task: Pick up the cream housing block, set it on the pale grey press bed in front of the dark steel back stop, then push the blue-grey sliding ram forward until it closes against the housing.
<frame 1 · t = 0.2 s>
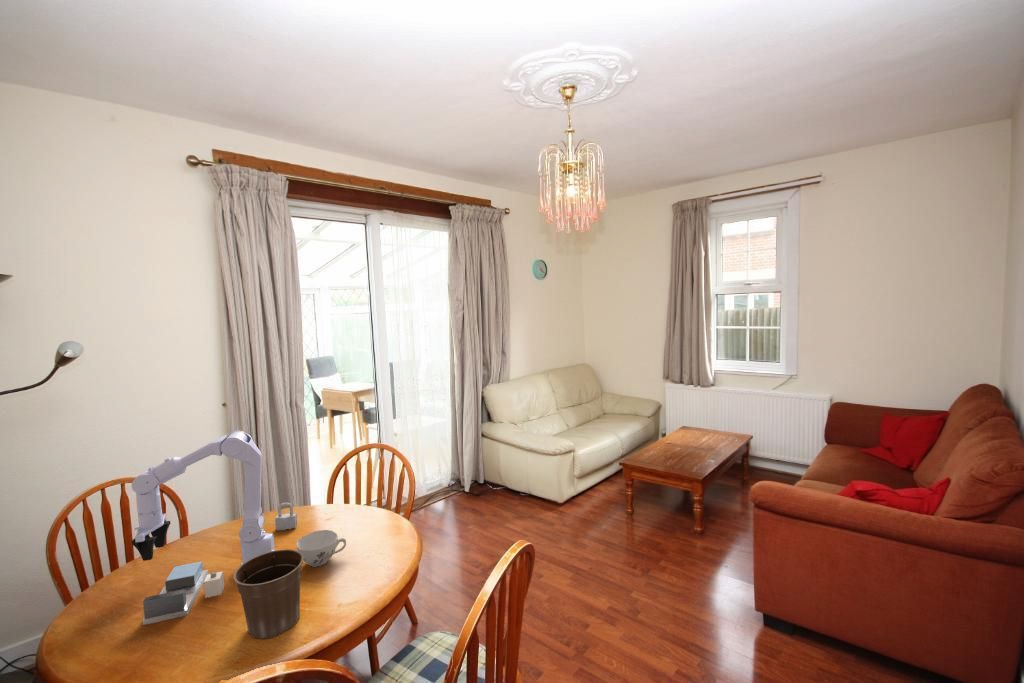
hand: (154, 553, 139), 10 cm above the table, tool pointing down, fingers open, 7 cm apart
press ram: (184, 575, 138), point 3 cm above the table, slide at 0.0 cm
press bed: (178, 597, 133), on the table
plant pot: (273, 624, 120), on the table
teacup: (322, 562, 149), on the table
padlock: (286, 528, 174), on the table
housing: (214, 592, 135), on the table
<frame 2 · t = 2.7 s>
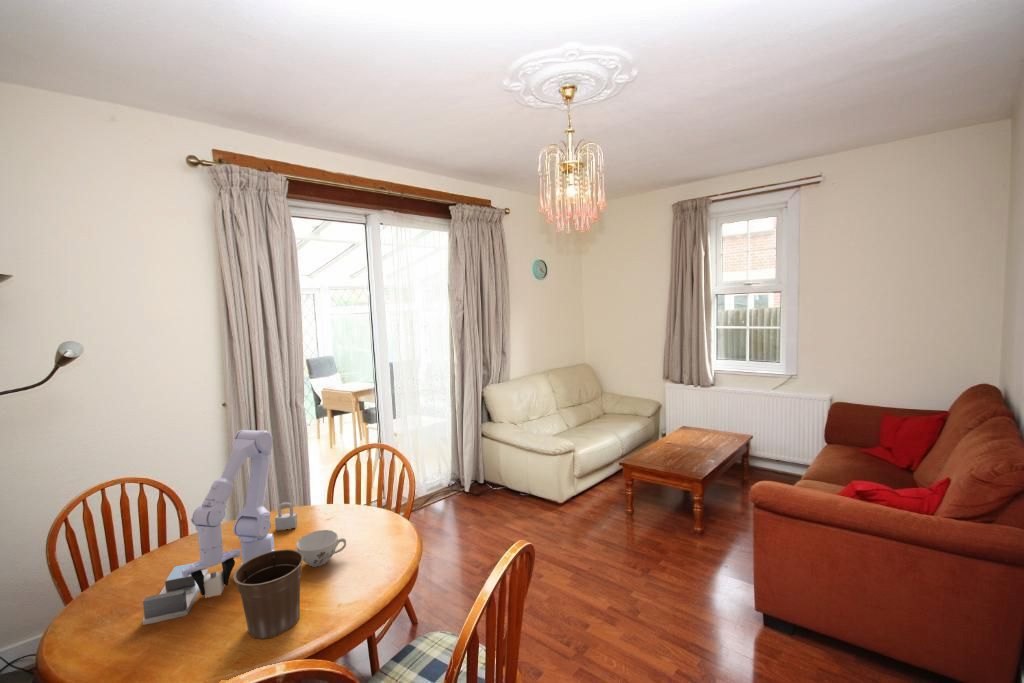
hand: (214, 589, 134), 1 cm above the table, tool pointing down, fingers closed on housing, 5 cm apart
housing: (214, 592, 135), on the table, touching gripper
everything else where it was.
when the fingers open (3 cm above the table, at t = 7.7 s): housing stays where it is, resting on press bed.
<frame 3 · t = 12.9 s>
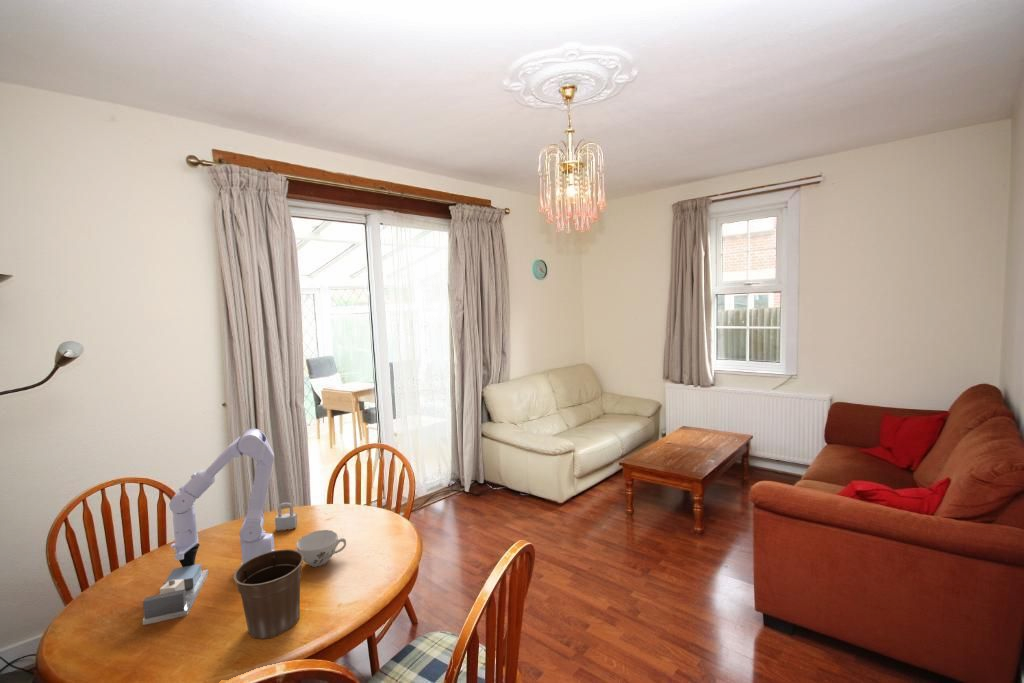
hand: (189, 570, 142), 2 cm above the table, tool pointing down, fingers closed
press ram: (183, 577, 137), point 3 cm above the table, slide at 1.4 cm, touching gripper
housing: (173, 600, 129), point 1 cm above the table, touching press bed
everything else where it was.
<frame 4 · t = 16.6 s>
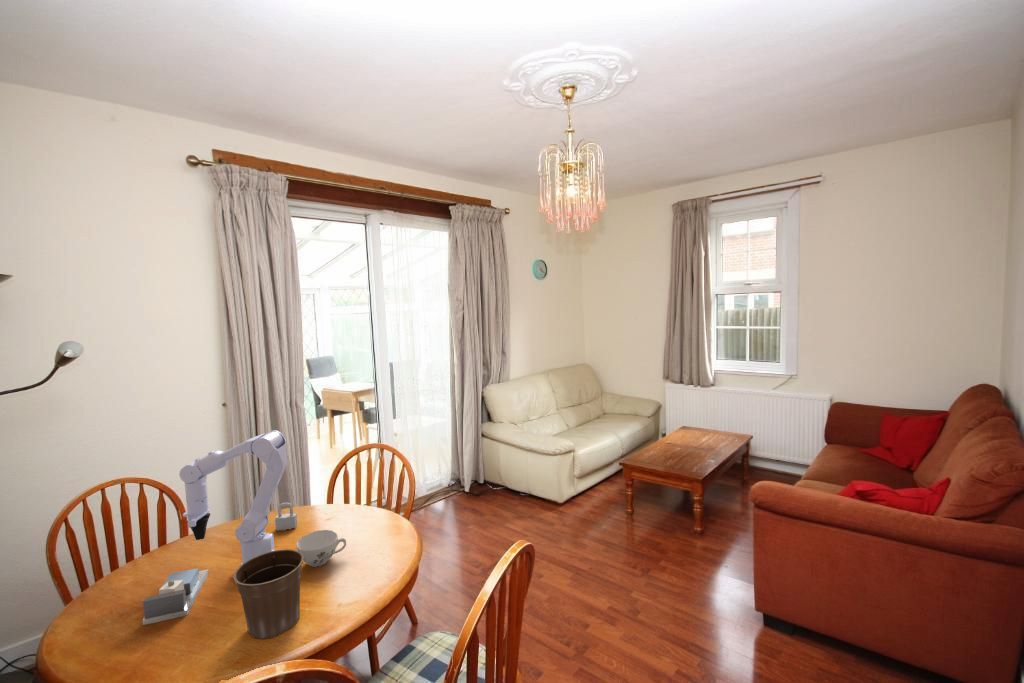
hand: (200, 538, 148), 9 cm above the table, tool pointing down, fingers closed
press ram: (180, 582, 135), point 3 cm above the table, slide at 4.0 cm
everything else where it was.
at the end: housing 0.2 cm from the target spot on the press bed, point 1.5 cm above the press bed's base; housing tilted 0°; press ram slide at 4.0 cm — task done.
